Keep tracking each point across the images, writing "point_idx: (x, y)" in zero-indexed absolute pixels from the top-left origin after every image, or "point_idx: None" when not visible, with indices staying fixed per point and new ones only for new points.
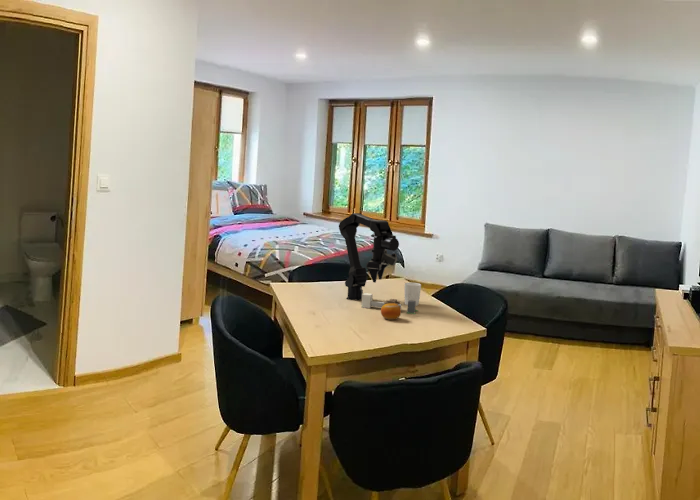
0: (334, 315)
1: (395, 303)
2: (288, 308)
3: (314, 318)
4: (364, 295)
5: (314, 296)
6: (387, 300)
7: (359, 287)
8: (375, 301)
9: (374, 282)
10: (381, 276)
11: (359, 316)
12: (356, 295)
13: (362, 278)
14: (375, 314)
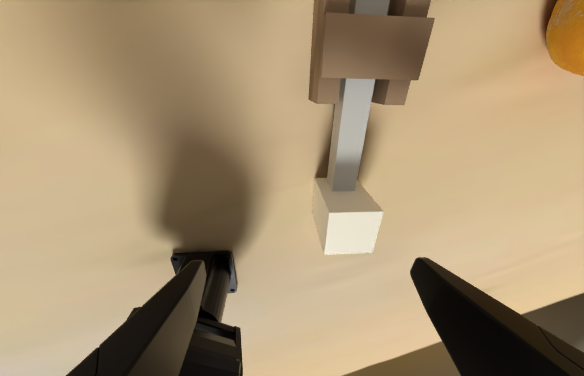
0: (498, 248)
1: (414, 11)
2: (423, 344)
3: (535, 276)
4: (374, 238)
5: (253, 353)
6: (328, 101)
7: (200, 307)
8: (335, 171)
9: (422, 264)
10: (189, 290)
11: (514, 175)
12: (221, 277)
13: (187, 363)
14: (475, 121)
